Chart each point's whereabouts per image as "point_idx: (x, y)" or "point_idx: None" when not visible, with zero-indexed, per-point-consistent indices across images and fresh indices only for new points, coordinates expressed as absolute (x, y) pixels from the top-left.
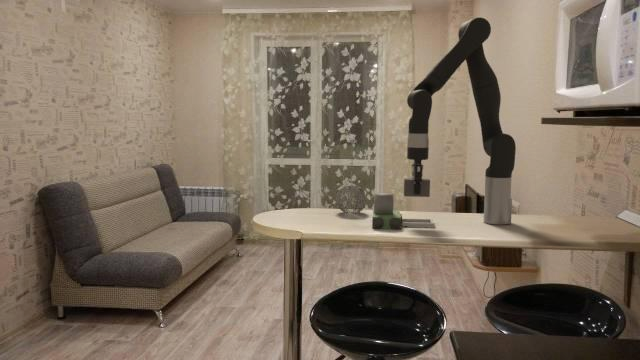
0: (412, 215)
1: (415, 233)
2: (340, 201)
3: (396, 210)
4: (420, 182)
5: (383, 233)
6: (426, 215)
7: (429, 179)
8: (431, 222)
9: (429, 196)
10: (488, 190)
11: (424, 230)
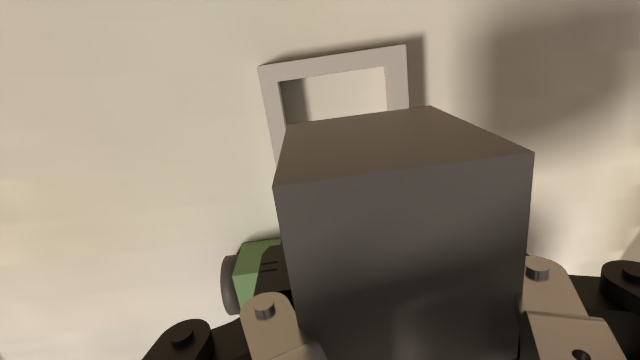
0: (52, 194)
1: (562, 136)
2: None
3: (252, 288)
4: (621, 273)
5: (566, 266)
6: (5, 114)
7: (400, 171)
8: (378, 65)
9: (432, 107)
10: None
11: (484, 97)
